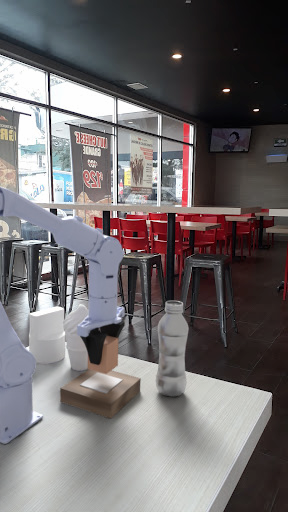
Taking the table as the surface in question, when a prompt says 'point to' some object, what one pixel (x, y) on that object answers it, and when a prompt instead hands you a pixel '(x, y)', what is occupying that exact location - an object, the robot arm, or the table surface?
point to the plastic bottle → (172, 350)
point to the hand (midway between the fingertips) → (102, 358)
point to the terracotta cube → (107, 356)
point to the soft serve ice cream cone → (76, 339)
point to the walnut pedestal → (100, 392)
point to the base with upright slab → (47, 335)
